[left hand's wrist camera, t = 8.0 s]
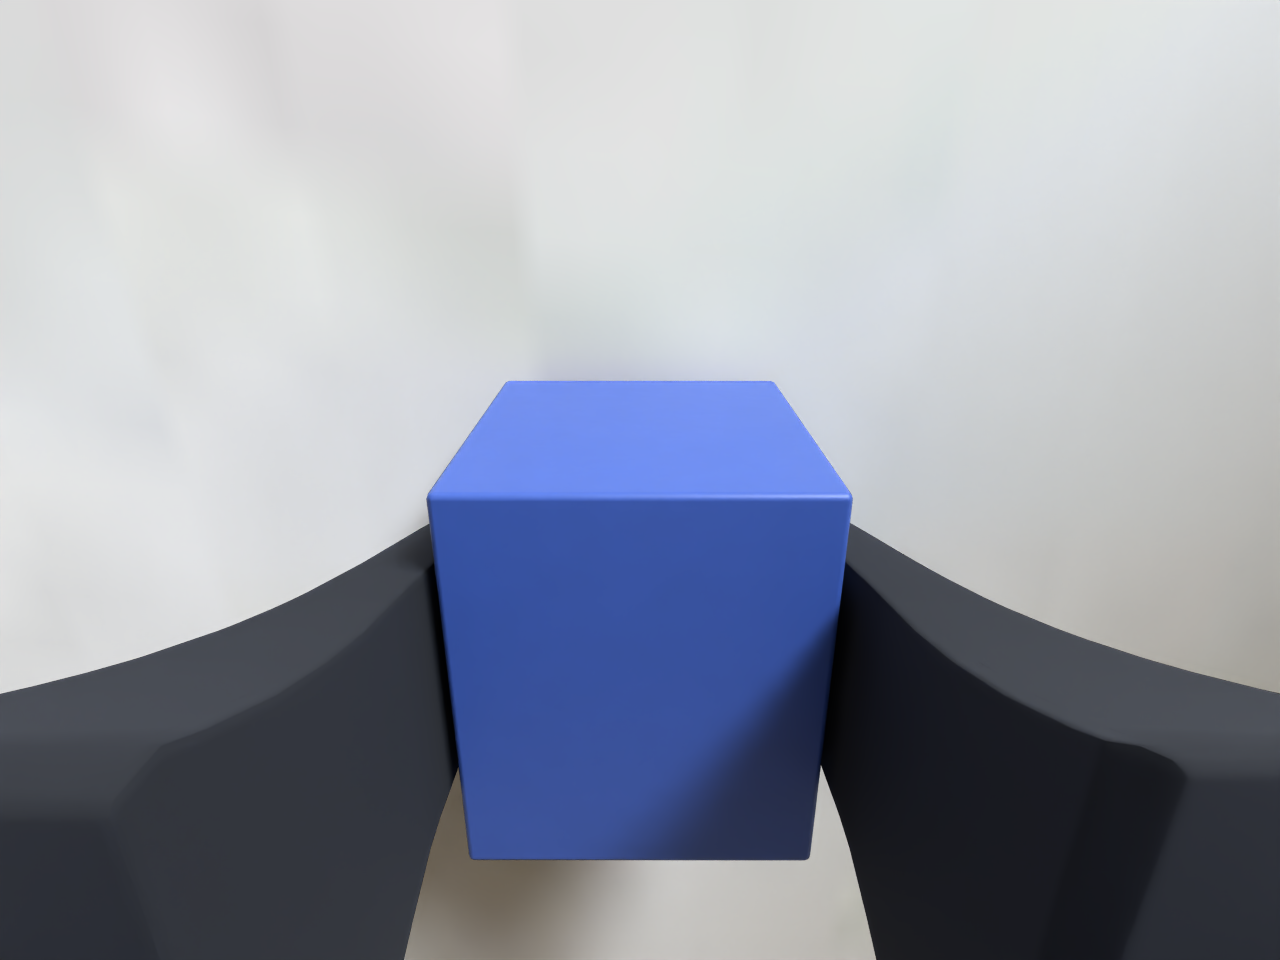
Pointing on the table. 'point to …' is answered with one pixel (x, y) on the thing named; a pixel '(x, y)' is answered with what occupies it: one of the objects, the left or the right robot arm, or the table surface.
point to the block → (639, 620)
